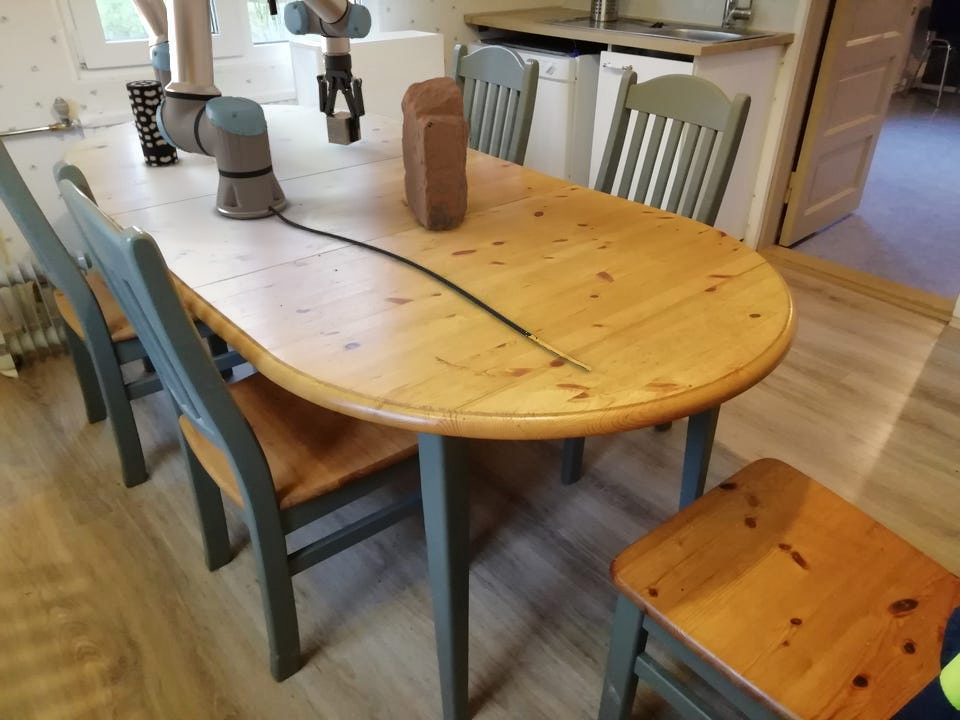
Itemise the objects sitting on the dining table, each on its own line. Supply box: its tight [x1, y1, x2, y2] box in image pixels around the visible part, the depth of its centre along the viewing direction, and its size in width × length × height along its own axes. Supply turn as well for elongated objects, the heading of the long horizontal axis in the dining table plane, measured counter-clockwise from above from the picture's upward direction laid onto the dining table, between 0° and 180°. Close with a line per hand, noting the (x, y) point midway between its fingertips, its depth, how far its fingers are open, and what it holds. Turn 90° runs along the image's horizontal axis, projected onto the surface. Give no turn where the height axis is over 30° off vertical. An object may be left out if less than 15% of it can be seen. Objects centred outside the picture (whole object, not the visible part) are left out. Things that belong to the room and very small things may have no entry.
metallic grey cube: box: [325, 111, 362, 146], centre depth 197 cm, size 6×7×7 cm
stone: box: [400, 76, 469, 231], centre depth 148 cm, size 22×11×28 cm, turn 18°
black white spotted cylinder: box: [125, 79, 179, 167], centre depth 181 cm, size 8×8×20 cm
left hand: (291, 16), depth 222 cm, fingers open, 13 cm apart
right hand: (344, 139), depth 199 cm, fingers closed on metallic grey cube, 6 cm apart
